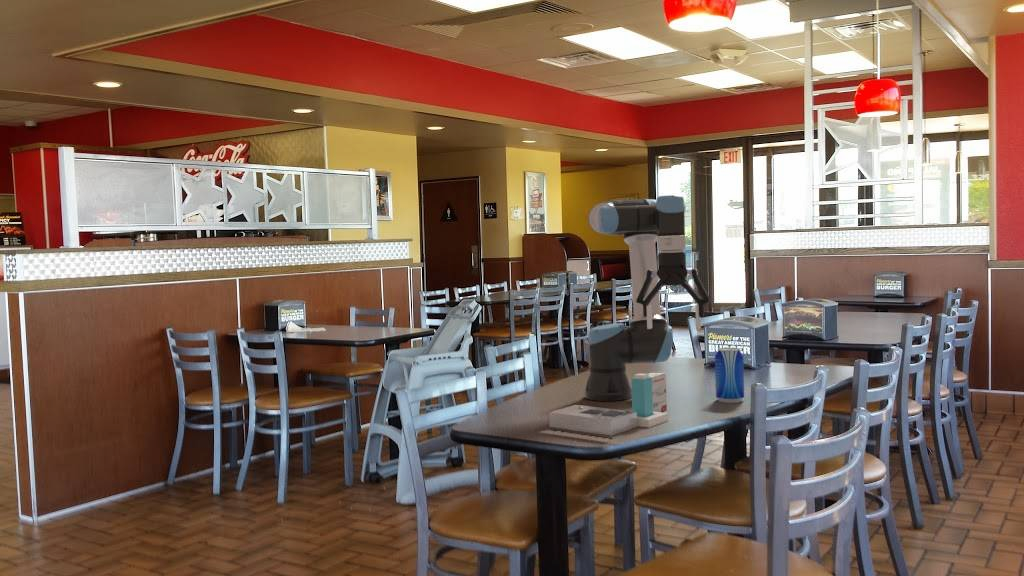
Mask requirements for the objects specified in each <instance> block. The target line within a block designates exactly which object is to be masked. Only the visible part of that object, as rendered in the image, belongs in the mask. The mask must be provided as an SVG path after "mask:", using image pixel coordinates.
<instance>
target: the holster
mask: <svg viewBox="0 0 1024 576" xmlns="http://www.w3.org/2000/svg"><path fill="white" fill-rule="evenodd" d="M668 421H669V412H654V411H653V415H652V416H649V417H639V416H637V427H643V428H648V429H649V428H652V427H654V426H658V425H660V424H663V423H666V422H668Z"/></svg>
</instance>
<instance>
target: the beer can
mask: <svg viewBox="0 0 1024 576" xmlns="http://www.w3.org/2000/svg"><path fill="white" fill-rule="evenodd" d="M740 350H741V348H739V347H718V348H717V352H716V354H715V356H714V367H715V368H714V370H715V371H714V375H715V376H714V379H715V398H716V399H717V400H718V402H719V403H724V404H726V403H727V404H735V403H737V404H738V403H741V402H742V401H743V400H744V398H745V383H744V382H745V380H744V379H745V375H744V374H745V372H744V355H743V353H742V352H741V351H740Z"/></svg>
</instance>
